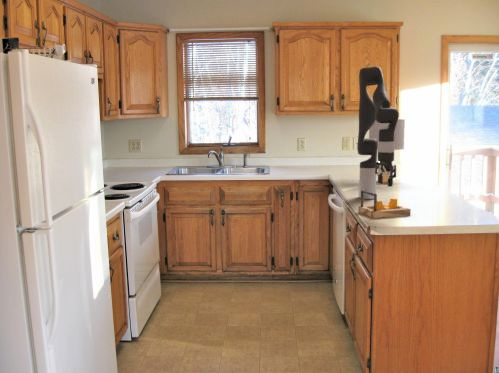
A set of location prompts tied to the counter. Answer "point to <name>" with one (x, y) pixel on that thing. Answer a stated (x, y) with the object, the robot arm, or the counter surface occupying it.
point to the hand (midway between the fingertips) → (385, 184)
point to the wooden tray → (374, 213)
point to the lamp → (397, 137)
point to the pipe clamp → (389, 206)
